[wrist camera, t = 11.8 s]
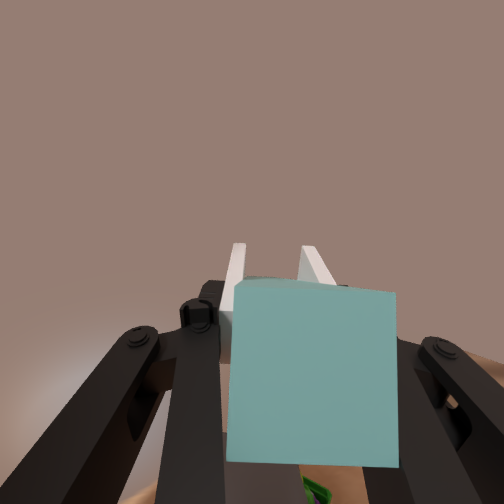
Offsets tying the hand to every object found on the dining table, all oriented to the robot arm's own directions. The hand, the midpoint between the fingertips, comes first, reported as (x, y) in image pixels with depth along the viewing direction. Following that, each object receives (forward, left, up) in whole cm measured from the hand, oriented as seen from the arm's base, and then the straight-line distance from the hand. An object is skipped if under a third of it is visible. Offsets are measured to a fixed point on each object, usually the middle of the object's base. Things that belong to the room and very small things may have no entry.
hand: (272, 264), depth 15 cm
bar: (-2, +2, -4) cm, 6 cm away
